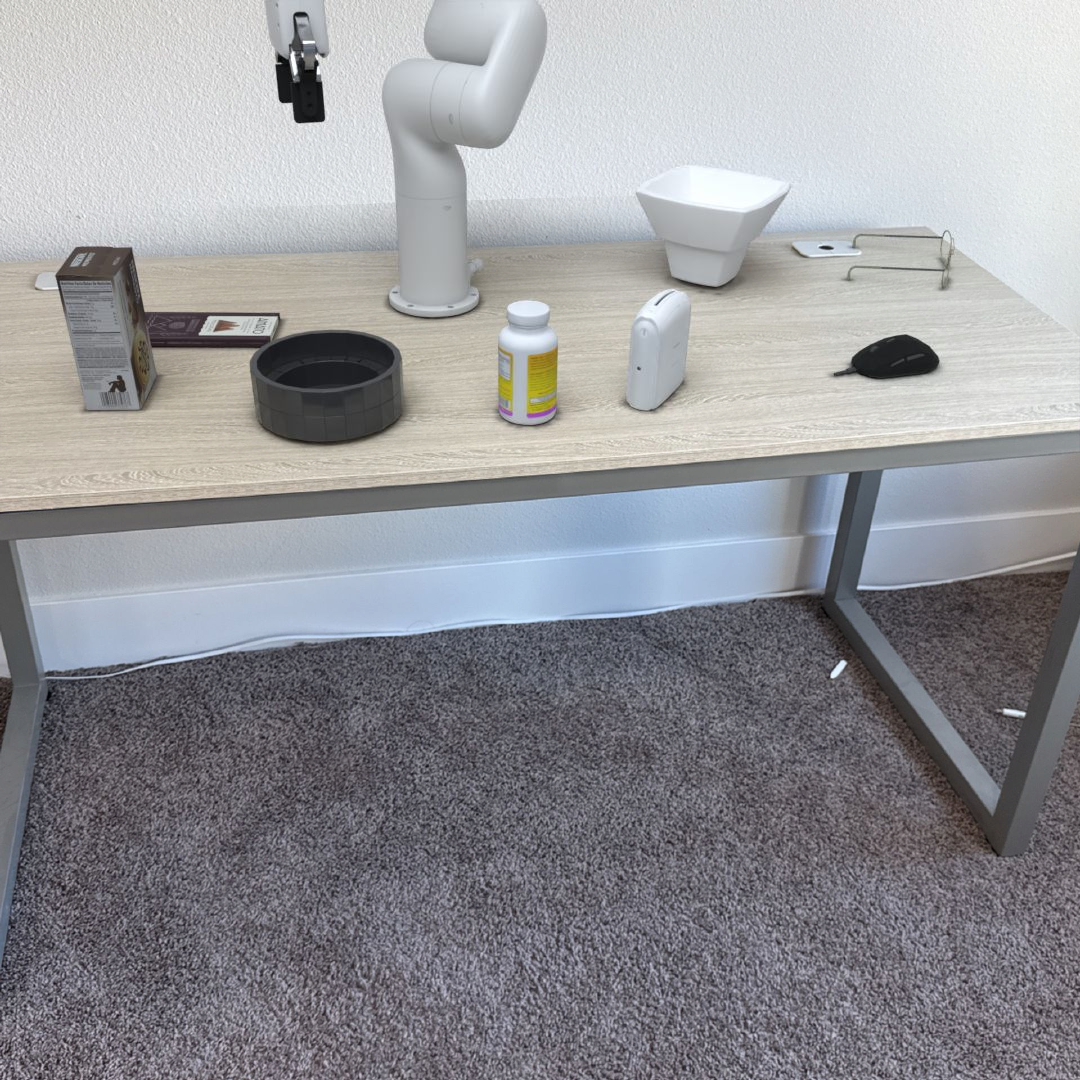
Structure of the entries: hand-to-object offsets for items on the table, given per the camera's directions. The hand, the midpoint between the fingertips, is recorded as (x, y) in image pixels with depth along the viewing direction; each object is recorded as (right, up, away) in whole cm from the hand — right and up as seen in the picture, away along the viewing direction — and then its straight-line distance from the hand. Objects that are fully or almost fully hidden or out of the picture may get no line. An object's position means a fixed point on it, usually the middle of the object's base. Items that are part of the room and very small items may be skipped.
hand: (301, 111), depth 118 cm
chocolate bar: (-18, -19, +24) cm, 36 cm away
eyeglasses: (+82, -4, +51) cm, 96 cm away
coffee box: (-23, -29, +9) cm, 39 cm away
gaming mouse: (+70, -25, +20) cm, 77 cm away
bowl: (+50, -8, +45) cm, 68 cm away
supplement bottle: (+24, -32, +7) cm, 41 cm away
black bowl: (+2, -32, +7) cm, 32 cm away
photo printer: (+40, -29, +13) cm, 51 cm away
